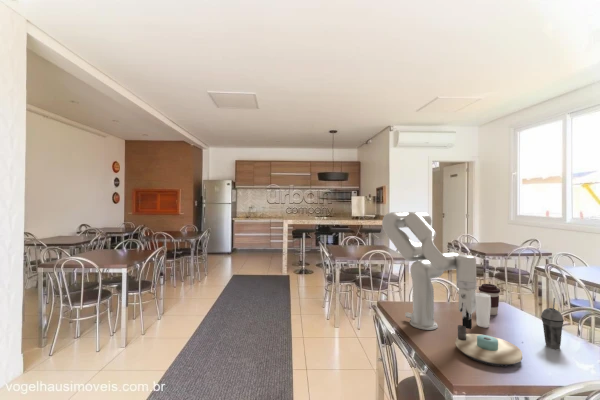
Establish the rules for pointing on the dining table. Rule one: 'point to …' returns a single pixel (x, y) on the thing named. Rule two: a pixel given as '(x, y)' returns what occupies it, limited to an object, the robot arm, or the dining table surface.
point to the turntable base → (488, 362)
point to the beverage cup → (552, 327)
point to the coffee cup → (494, 294)
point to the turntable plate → (503, 355)
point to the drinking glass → (483, 309)
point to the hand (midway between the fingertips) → (467, 327)
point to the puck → (487, 342)
